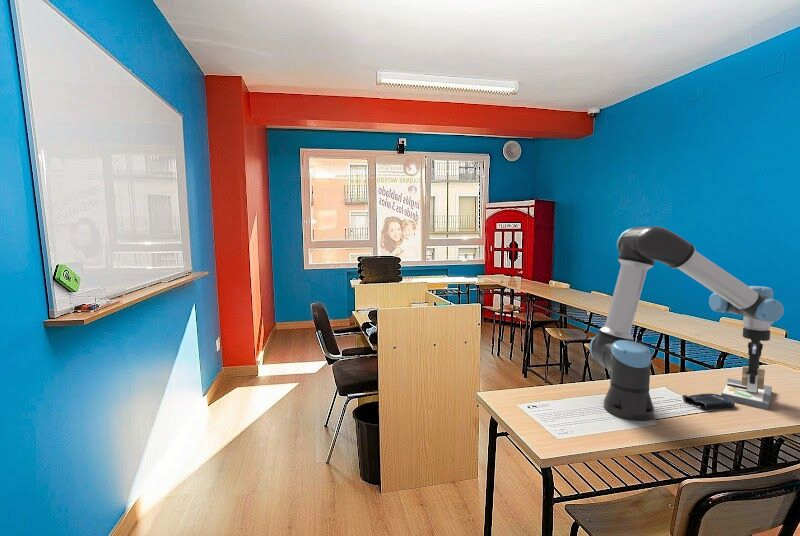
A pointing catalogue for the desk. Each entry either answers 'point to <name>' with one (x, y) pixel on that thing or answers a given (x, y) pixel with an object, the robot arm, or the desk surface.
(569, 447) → the desk surface
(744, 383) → the wooden block with bar
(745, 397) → the board
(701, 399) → the dark grey hollow piece
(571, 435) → the desk surface
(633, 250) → the robot arm
